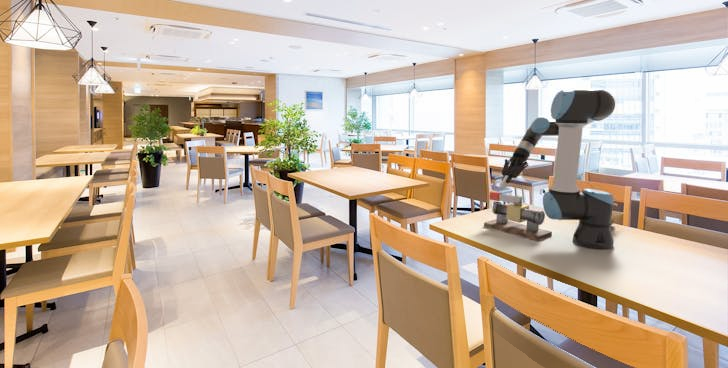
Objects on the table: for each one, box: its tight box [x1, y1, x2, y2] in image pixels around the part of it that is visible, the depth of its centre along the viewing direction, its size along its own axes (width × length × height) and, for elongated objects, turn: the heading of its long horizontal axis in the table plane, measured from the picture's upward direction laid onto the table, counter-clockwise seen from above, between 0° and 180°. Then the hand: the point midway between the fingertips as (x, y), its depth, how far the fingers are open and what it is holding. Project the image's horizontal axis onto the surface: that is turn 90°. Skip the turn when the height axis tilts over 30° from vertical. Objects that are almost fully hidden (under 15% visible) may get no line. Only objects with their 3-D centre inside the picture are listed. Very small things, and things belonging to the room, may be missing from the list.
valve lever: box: [489, 191, 524, 206], centre depth 188 cm, size 17×4×4 cm, turn 37°
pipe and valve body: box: [492, 201, 546, 233], centre depth 184 cm, size 23×7×10 cm, turn 37°
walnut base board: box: [483, 218, 553, 242], centre depth 186 cm, size 28×12×2 cm, turn 37°
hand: (501, 187), depth 196 cm, fingers closed
